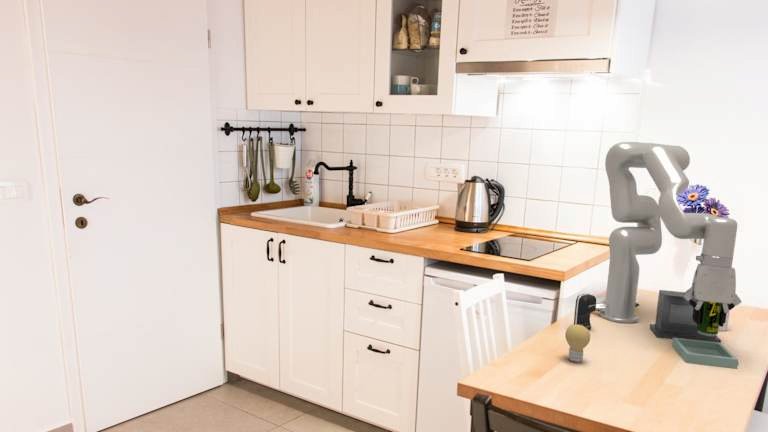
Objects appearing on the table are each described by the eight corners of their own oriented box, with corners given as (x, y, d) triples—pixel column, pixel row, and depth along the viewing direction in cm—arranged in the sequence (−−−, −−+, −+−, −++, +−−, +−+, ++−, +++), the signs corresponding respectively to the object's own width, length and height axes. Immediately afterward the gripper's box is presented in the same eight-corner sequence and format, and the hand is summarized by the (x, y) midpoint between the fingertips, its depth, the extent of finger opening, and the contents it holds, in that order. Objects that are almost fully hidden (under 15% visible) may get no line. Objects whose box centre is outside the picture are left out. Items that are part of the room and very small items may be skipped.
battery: (583, 333, 173) (586, 298, 172) (572, 330, 176) (575, 295, 175) (595, 329, 178) (598, 295, 176) (584, 326, 181) (588, 292, 179)
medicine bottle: (727, 331, 183) (732, 296, 181) (705, 330, 183) (710, 295, 181) (714, 324, 190) (719, 290, 188) (693, 323, 190) (698, 289, 188)
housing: (657, 337, 173) (662, 295, 171) (649, 328, 182) (654, 288, 180) (720, 344, 170) (726, 302, 168) (709, 334, 179) (715, 294, 177)
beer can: (691, 330, 160) (696, 290, 158) (706, 329, 162) (711, 289, 160) (707, 337, 155) (713, 295, 153) (722, 336, 156) (728, 294, 155)
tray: (685, 362, 154) (686, 353, 154) (671, 345, 167) (672, 337, 167) (737, 368, 152) (738, 359, 152) (719, 351, 165) (720, 342, 164)
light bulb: (558, 357, 154) (561, 322, 152) (575, 354, 156) (579, 320, 155) (574, 366, 148) (578, 330, 146) (592, 363, 150) (596, 328, 149)
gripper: (687, 261, 153) (679, 324, 156) (756, 267, 150) (747, 331, 153) (679, 256, 161) (671, 316, 163) (744, 261, 157) (735, 323, 160)
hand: (708, 323), depth 158 cm, fingers closed on beer can, 5 cm apart
